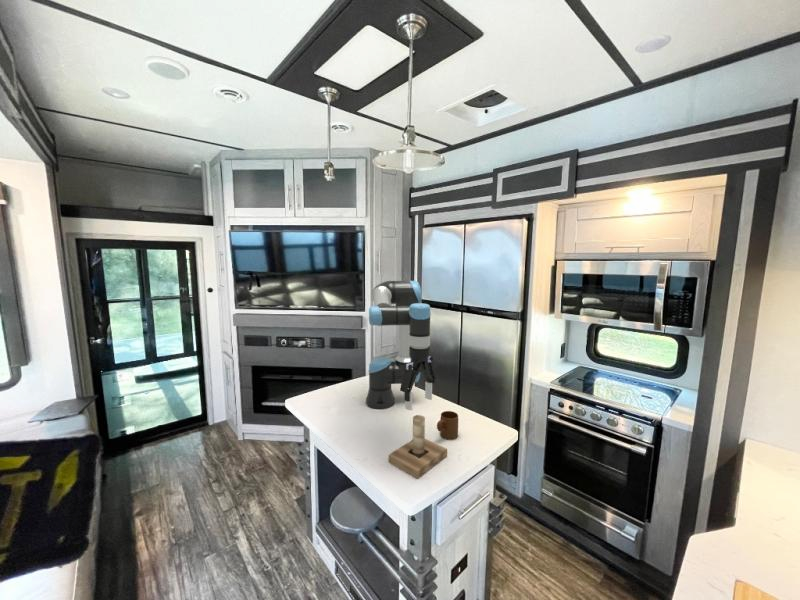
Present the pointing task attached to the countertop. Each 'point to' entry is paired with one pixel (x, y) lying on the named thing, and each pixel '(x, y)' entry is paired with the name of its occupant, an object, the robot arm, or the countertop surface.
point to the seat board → (416, 465)
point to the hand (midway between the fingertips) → (418, 403)
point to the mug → (448, 425)
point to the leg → (418, 436)
